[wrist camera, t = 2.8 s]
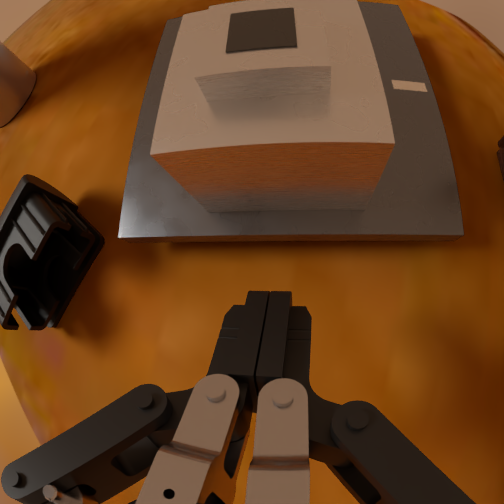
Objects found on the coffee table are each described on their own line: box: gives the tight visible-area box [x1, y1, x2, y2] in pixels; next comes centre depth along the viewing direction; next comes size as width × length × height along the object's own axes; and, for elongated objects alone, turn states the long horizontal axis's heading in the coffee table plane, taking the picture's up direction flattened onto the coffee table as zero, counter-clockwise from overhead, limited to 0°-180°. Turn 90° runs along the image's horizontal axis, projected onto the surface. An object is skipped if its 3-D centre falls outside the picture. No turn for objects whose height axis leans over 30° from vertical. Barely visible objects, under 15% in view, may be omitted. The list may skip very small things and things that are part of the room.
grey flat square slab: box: [118, 2, 464, 243], centre depth 19 cm, size 20×20×2 cm
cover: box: [150, 0, 395, 212], centre depth 13 cm, size 8×8×9 cm
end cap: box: [0, 174, 104, 330], centre depth 20 cm, size 10×7×7 cm
